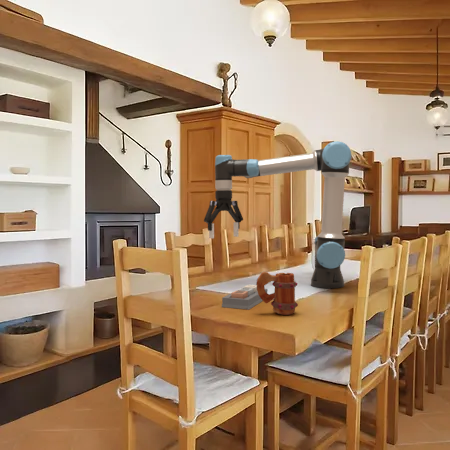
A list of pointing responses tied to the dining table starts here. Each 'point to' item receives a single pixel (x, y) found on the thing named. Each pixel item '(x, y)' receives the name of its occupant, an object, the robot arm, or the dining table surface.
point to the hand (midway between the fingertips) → (224, 237)
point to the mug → (279, 292)
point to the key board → (242, 301)
